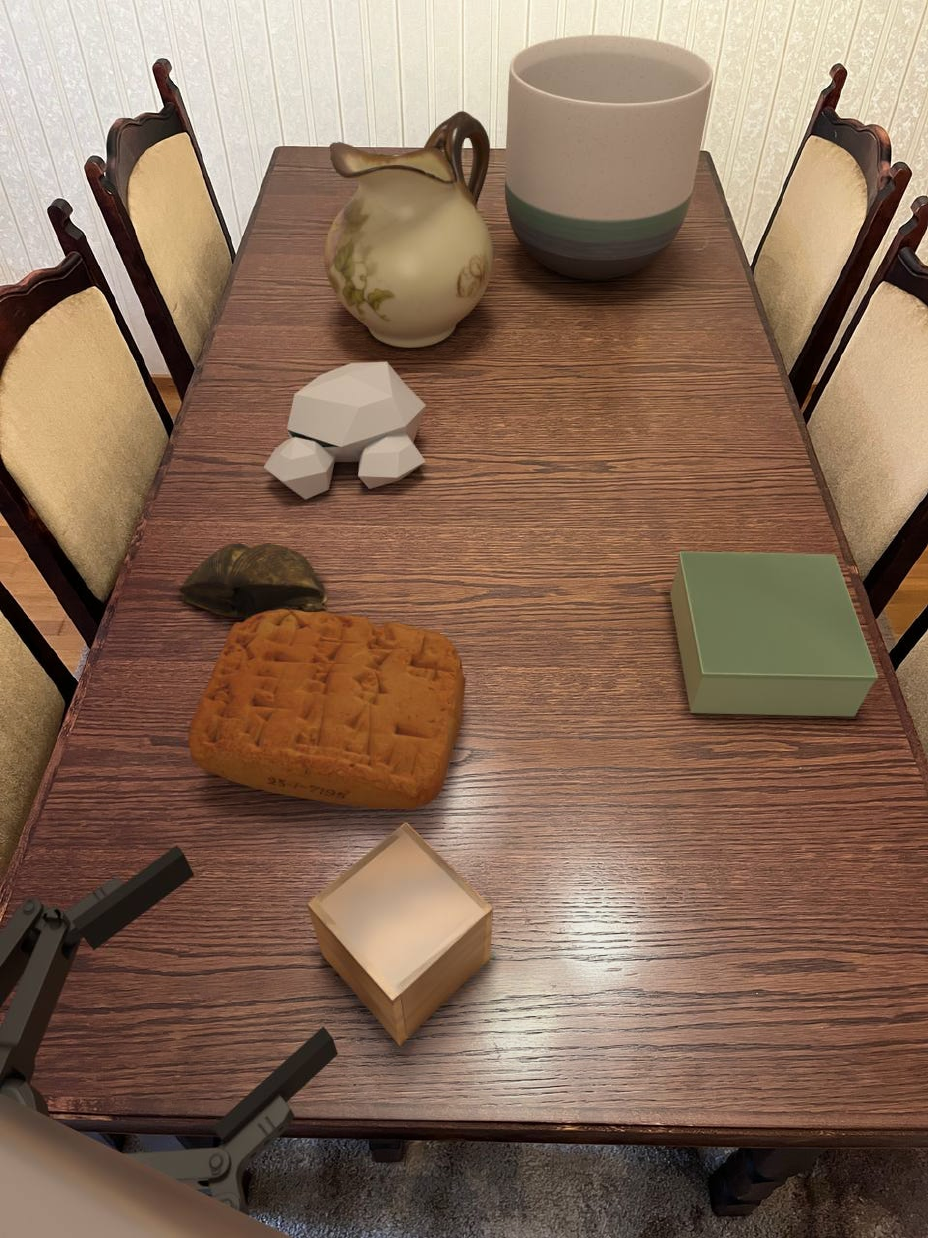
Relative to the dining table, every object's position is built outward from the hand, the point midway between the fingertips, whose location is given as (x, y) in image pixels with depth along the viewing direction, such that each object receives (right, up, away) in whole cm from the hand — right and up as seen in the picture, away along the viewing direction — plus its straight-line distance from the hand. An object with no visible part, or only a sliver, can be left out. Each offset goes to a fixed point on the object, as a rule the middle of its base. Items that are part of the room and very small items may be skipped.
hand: (254, 944), depth 49 cm
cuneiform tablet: (0, +7, +32) cm, 33 cm away
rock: (-3, +37, +59) cm, 70 cm away
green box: (+40, +15, +39) cm, 57 cm away
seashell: (-9, +20, +43) cm, 49 cm away
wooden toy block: (+7, -8, +19) cm, 22 cm away
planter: (+31, +72, +90) cm, 119 cm away
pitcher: (+4, +60, +79) cm, 99 cm away
